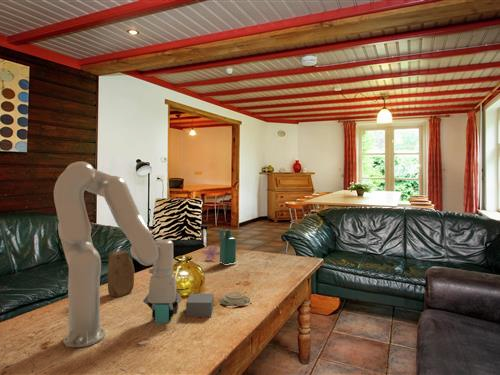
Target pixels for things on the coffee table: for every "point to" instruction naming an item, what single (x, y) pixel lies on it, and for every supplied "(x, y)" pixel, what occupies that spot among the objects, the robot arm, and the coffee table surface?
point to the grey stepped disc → (234, 299)
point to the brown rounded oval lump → (120, 273)
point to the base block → (199, 305)
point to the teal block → (162, 313)
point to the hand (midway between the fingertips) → (162, 318)
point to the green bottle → (227, 247)
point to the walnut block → (175, 307)
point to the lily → (211, 252)
